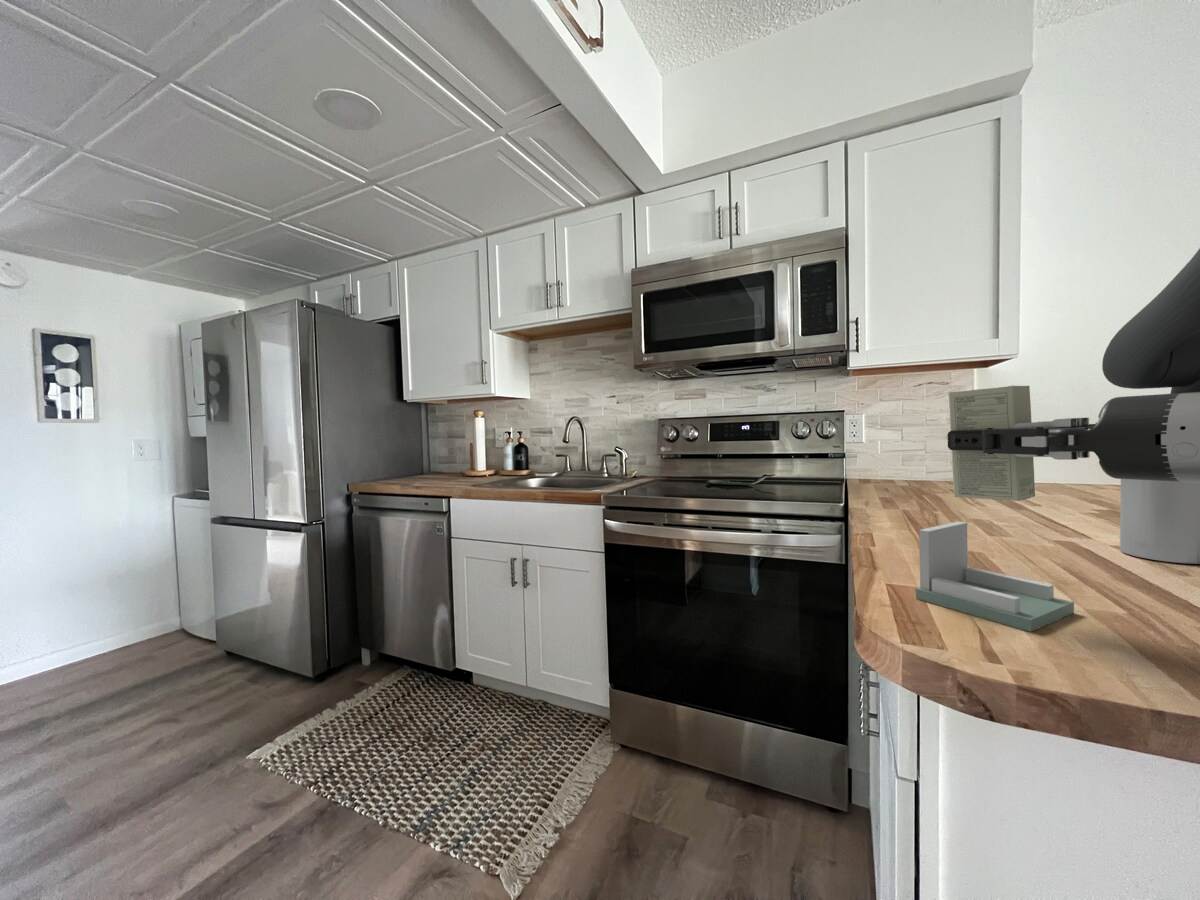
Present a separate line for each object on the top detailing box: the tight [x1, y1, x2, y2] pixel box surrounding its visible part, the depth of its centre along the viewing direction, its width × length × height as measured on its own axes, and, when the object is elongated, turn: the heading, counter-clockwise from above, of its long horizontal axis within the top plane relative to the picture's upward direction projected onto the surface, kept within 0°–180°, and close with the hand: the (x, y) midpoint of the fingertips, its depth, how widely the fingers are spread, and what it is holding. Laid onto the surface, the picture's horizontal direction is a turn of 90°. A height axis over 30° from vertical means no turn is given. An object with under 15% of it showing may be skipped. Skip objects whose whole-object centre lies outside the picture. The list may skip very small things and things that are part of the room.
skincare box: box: [947, 385, 1036, 502], centre depth 53 cm, size 6×4×12 cm
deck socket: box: [915, 521, 1075, 633], centre depth 54 cm, size 9×11×8 cm
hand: (962, 439), depth 56 cm, fingers closed on skincare box, 4 cm apart
